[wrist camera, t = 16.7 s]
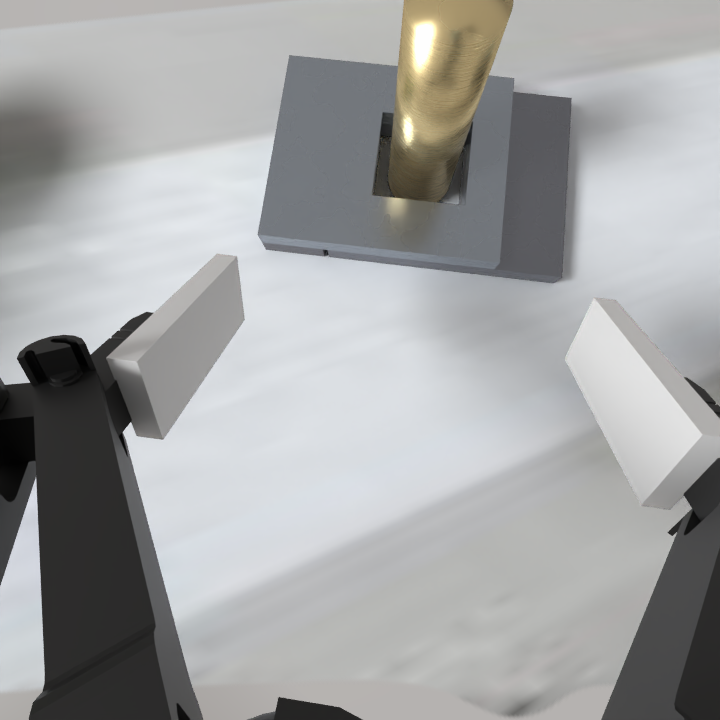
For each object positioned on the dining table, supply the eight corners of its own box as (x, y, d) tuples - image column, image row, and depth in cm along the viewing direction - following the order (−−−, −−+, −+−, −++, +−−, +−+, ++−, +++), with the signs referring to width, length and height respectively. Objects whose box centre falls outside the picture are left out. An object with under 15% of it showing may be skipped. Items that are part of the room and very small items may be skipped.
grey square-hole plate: (563, 110, 26) (571, 98, 25) (553, 282, 24) (561, 277, 23) (353, 88, 26) (353, 75, 25) (329, 256, 25) (327, 250, 24)
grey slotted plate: (502, 104, 26) (514, 78, 24) (488, 275, 24) (499, 262, 22) (294, 82, 27) (289, 55, 25) (266, 249, 25) (257, 234, 23)
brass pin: (452, 154, 26) (517, -42, 15) (446, 210, 25) (509, 49, 14) (391, 147, 26) (410, -52, 15) (384, 203, 25) (398, 38, 14)
